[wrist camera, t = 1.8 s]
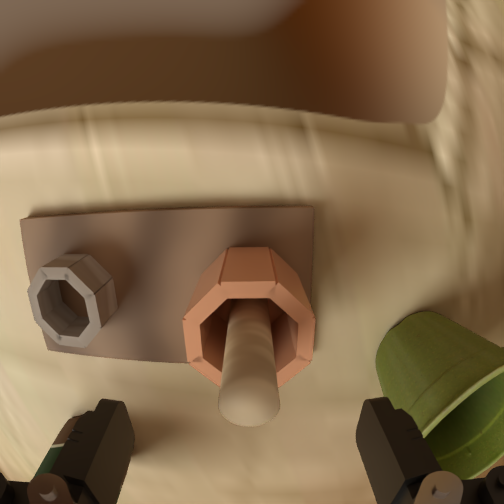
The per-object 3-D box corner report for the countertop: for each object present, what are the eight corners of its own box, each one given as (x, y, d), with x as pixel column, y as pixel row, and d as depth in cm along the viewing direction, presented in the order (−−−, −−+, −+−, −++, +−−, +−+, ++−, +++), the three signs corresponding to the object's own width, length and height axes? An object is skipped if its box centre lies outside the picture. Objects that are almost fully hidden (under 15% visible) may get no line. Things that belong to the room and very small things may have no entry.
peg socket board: (311, 205, 20) (325, 215, 17) (304, 354, 23) (312, 387, 19) (27, 217, 20) (-5, 228, 16) (53, 344, 23) (30, 368, 19)
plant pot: (358, 419, 25) (393, 518, 15) (335, 313, 22) (391, 422, 12) (467, 372, 25) (527, 445, 14) (468, 262, 22) (566, 321, 11)
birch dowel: (267, 280, 20) (280, 382, 10) (266, 313, 21) (278, 426, 11) (231, 281, 20) (215, 383, 10) (232, 313, 21) (220, 426, 11)
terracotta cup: (299, 246, 20) (318, 280, 14) (295, 334, 22) (308, 389, 16) (198, 247, 20) (178, 281, 14) (204, 335, 22) (191, 390, 16)
